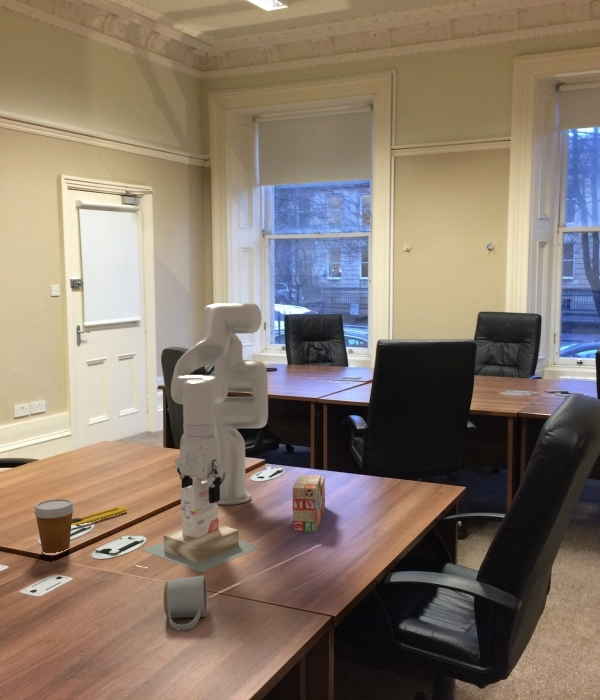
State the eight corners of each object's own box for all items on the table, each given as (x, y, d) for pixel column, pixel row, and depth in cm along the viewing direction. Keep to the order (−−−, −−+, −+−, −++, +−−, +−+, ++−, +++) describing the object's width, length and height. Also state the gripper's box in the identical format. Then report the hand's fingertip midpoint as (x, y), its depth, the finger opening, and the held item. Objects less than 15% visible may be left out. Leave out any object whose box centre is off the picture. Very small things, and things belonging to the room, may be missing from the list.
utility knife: (47, 528, 193) (46, 521, 193) (117, 508, 210) (117, 502, 210) (60, 534, 188) (60, 527, 188) (131, 513, 205) (130, 506, 205)
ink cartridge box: (204, 525, 181) (203, 468, 179) (219, 528, 178) (218, 471, 176) (180, 535, 174) (179, 476, 172) (195, 539, 171) (194, 479, 169)
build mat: (141, 551, 175) (141, 549, 175) (201, 529, 190) (201, 527, 190) (202, 574, 161) (202, 572, 161) (261, 548, 176) (261, 546, 176)
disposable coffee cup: (38, 561, 169) (36, 512, 168) (33, 548, 178) (31, 501, 177) (79, 554, 174) (77, 506, 172) (72, 541, 182) (70, 496, 181)
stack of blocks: (304, 506, 209) (304, 466, 208) (325, 507, 208) (325, 466, 207) (292, 531, 188) (292, 486, 187) (315, 533, 187) (315, 487, 186)
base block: (164, 551, 174) (163, 535, 174) (205, 535, 185) (205, 520, 184) (197, 562, 166) (196, 546, 166) (238, 545, 177) (238, 530, 177)
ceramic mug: (166, 607, 145) (165, 571, 144) (207, 605, 145) (206, 569, 144) (161, 633, 134) (160, 595, 133) (205, 631, 135) (204, 592, 134)
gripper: (164, 428, 175) (166, 495, 177) (212, 437, 164) (214, 509, 166) (187, 423, 181) (188, 488, 183) (235, 431, 170) (236, 501, 172)
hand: (200, 498), depth 174 cm, fingers open, 9 cm apart
